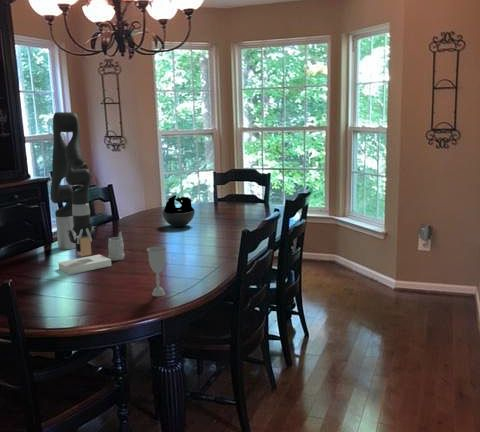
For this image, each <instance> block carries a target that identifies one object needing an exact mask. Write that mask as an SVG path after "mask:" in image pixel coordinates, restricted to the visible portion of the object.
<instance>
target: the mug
mask: <svg viewBox="0 0 480 432" xmlns="http://www.w3.org/2000/svg"><path fill="white" fill-rule="evenodd" d="M124 247H125V244H124V238H123V236H122V231H118V237H117V236H116V237H115V236H113V237H111V238H108V245H107V248H108V254H107V258H109V259H111V261H113V262H114V261H116V262H117V261H121V260H124V258H125V256H126V255H125V252H124V250H125V249H124Z"/></svg>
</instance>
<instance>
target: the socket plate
mask: <svg viewBox="0 0 480 432" xmlns="http://www.w3.org/2000/svg"><path fill="white" fill-rule="evenodd" d="M57 265H58V269H59V270H60V271H62V272H64V273H65V274H67V275H74V274H80V273H85V272H90V271H94V270H98V269H103V268H108V267H112V260H111V259H109V257H108V256H104V255H102V254H95V255H88V256H83V257H79V258H75V259H69V260H65V261H59V262H58V264H57Z"/></svg>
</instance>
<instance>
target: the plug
mask: <svg viewBox="0 0 480 432" xmlns="http://www.w3.org/2000/svg"><path fill="white" fill-rule="evenodd" d="M79 244H80V252H78V251H77V255H78V256H81V257H87V256H92V248H91V240H90V237H89V236H88V235H86V236H85V235H84V236H81V238H80V242H79Z"/></svg>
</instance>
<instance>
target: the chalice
mask: <svg viewBox="0 0 480 432" xmlns="http://www.w3.org/2000/svg"><path fill="white" fill-rule="evenodd" d="M166 249H167V247H164V246H152V247H148V248H146V251H147V255H148V263H149V266H150V268H151V269H152V271H153V272H154V273H156V275H155V279H156V281H155V283H156V287H155V288H154V289H153V291H152V293H151V296H153V297H162V296H163V297H164V296H165V295H166V292H165V290H164V289H163V287H161V286H160V283H161V281H160V278H161V276H160V273H161V272H162V270H163V268H164V266H165V263H166Z"/></svg>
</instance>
